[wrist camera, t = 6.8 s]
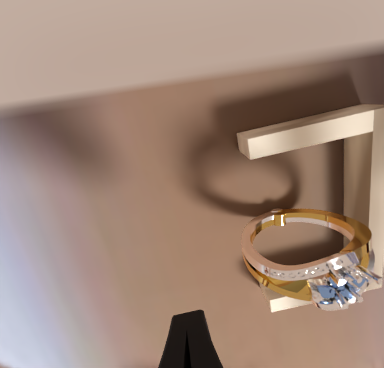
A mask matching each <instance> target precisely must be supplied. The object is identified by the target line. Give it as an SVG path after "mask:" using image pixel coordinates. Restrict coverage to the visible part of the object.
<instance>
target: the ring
mask: <svg viewBox="0 0 384 368" xmlns="http://www.w3.org/2000/svg"><path fill="white" fill-rule="evenodd" d="M286 222H308V223H314V224H319V225H323V226H326V227H329V228H332V229H334V230H336V231H338V232H340V233H341V234H343V235H344V236H346V237H347V238H348V239H349V240H350V241H351V242H350V243H349V244H348V245H347V246H346V247H345V248H343V249H342V250H341V251H340V253H336V254H333V255H331V256H328V257H325V258H322V259H320V260H316V261H313V262H310V263H305V264H300V265H281V264H277V263H274V262H271V261H269V260H267V259H266V258H264V257H263V256H261V255H260V254H259V253H258V252H257V251H256V250H255V249H254V248H253V246H252V244H253V240H254V238H255V236H256V235H257V234H258V233H259V232H260V231H261V230H263V229H264V228H266V227H269V226H271V225H275V226H282V225H285V224H286ZM241 246H242V254H243V259H244V262H245V264H246V266H247V268H248V270H249V271H250V273H251V274H252V275H253V276H254V277H255V278H256V279H257V280H258V281H259V282H260V283H261V284H263V285H264V286H266V287H267V288H269V289H271V290H272V291H274V292H277V293H279V294H281V295H284V296H287V297H290V298H294V299H298V300H304V301H311V302H312V303H313V304H314V305H315V306H316V307H318V308H320V309H323V310H328V311H333V310H339V309H347V308H349V307H348V305H350V304H351V303H354V302H355V301H356V302H357V303H359V302H363V298H362V296H360V295H361V294H362V293H363V292H364V290H365V289H366V288H367V287H368V285H369V284H370V283H372V282H373V281H374V282H376V283H377V284H381V282H382V280H383V278H382V277H380V276H378V275H377V274H375V273H374V266H375V254H374V251H373V248H372V233H371V230H370V229H369V228H368V227H367V226H366V225H364V224H363V223H361V222H359V221H357V220H355V219H352V218H350V217H347V216H344V215H341V214H337V213H333V212H328V211H322V210H315V209H284V210H282V209H280V208H276V209H272V210H271V212H267V213H264V214H262V215H259V216H257V217H255V218H254V219H252V220H251V221H250V222H249V223H248V224H247V225H246V226H245V227H244V229H243V231H242V235H241ZM358 259H360V260H361V264H360V262H359V260H358ZM358 264H360V265H358ZM357 265H358V266H357ZM355 266H356V267H355ZM313 277H314V278H313ZM309 278H313V279H309ZM304 279H308V280H304Z"/></svg>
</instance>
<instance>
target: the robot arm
mask: <svg viewBox="0 0 384 368" xmlns="http://www.w3.org/2000/svg"><path fill="white" fill-rule="evenodd" d="M158 368H223V366H222V364H221V362H220V360H219V357H218V355H217V353H216V350H215V348H214V346H213V343H212V341H211V337H210V333H209V329H208V326H207V322H206V318H205V315H204V311H202V310H196V311H192V312H187V313H183V314H178V315H174V316H173V317H172V321H171V325H170V330H169V334H168V338H167V341H166V345H165V348H164V351H163V355H162V358H161V361H160V364H159V367H158Z"/></svg>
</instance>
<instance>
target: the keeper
mask: <svg viewBox="0 0 384 368" xmlns="http://www.w3.org/2000/svg"><path fill="white" fill-rule="evenodd" d="M342 138H344V216H347V217H350V218H352V219H355V220H357V221H359V222H361V223H363V224H364V225H366V226H367V227H368V228H369V229H370V230H371V233H372V248H373V251H374V254H375V266H374V273H375V274H377V275H378V276H380V277H383V263H384V105H376V104H360V105H356V106H352V107H347V108H343V109H339V110H334V111H330V112H326V113H322V114H317V115H313V116H309V117H304V118H300V119H296V120H292V121H287V122H283V123H279V124H274V125H270V126H266V127H262V128H257V129H253V130H249V131H244V132H240V133H237V139H238V146H239V151H240V152H241V153H243V154H244V155H245V156H246V157H248V158H249V159H250V160H252V159H256V158H260V157H265V156H269V155H273V154H278V153H282V152H286V151H291V150H295V149H299V148H303V147H308V146H312V145H316V144H321V143H325V142H329V141H334V140H338V139H342ZM350 242H351V241H350V240H349V239H348V238H347V237H346V236H344V248H345V247H346V246H347V245H348V244H349V243H350ZM358 260H359V262H360V264H361V260H360V259H358ZM360 264H358V265H360ZM358 265H357V266H358ZM355 267H356V266H355ZM313 278H314V277H313ZM313 278H309V279H313ZM304 280H308V279H304ZM259 283H260V282H259ZM381 287H382V282H381V284H377V283H376V282H374V281H373V282H372V283H370V284H369V285H368V287H367V288H366V289H365V290H364V291H368V290H372V289H377V288H381ZM260 288H261V290H262V293H263V295H264V297H265V299H266V301H267V304H268V306H269V308H270V310H271V312H275V311H280V310H284V309H289V308H293V307H297V306H302V305H306V304H311V303H312V302H311V301H304V300H298V299H294V298H290V297H287V296H284V295H281V294H279V293H277V292H274V291H272V290H271V289H269V288H267V287H266V286H264V285H263V284H261V283H260Z"/></svg>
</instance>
